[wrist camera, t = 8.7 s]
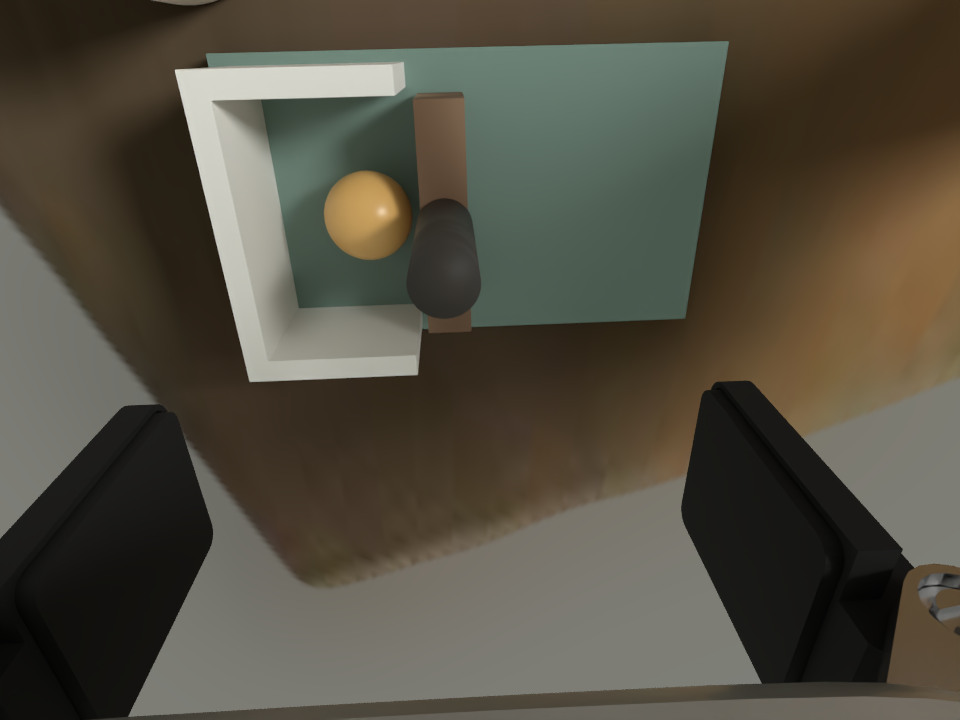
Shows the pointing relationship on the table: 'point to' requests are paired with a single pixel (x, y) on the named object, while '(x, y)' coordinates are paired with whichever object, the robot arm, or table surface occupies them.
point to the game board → (490, 188)
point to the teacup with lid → (186, 2)
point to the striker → (443, 217)
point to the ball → (368, 215)
